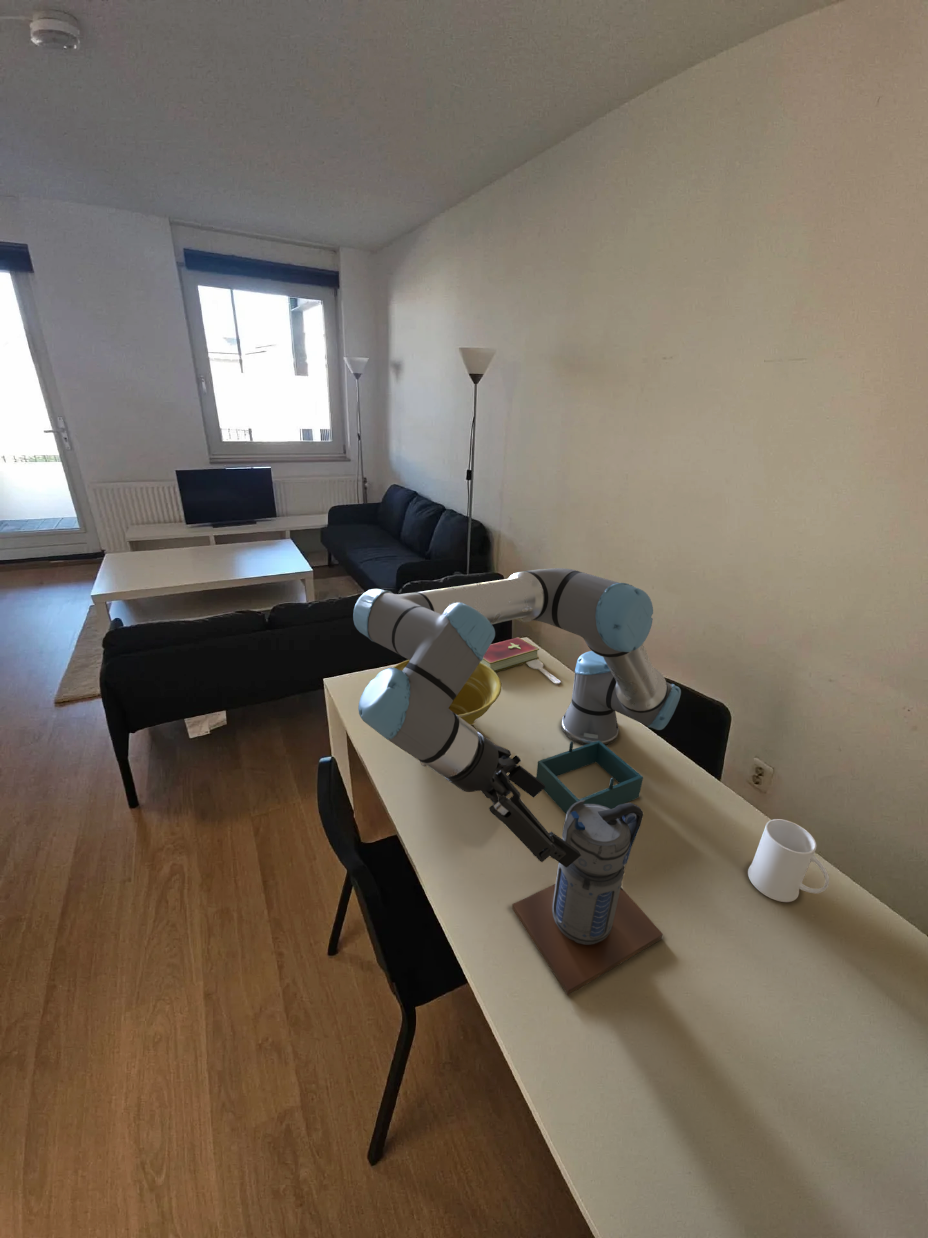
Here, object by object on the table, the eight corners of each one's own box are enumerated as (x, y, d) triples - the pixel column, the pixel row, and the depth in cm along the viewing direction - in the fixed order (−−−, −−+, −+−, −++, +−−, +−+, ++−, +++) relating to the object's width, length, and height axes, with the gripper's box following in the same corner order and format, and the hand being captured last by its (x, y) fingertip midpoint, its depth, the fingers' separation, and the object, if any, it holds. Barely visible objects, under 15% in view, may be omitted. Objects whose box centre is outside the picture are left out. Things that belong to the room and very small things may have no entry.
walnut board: (598, 867, 99) (599, 862, 98) (662, 939, 86) (663, 934, 85) (511, 908, 90) (512, 904, 90) (567, 995, 77) (568, 990, 77)
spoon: (551, 685, 161) (551, 684, 161) (522, 660, 176) (522, 659, 175) (565, 682, 163) (565, 680, 163) (535, 658, 178) (535, 656, 178)
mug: (826, 904, 93) (848, 856, 88) (800, 925, 89) (821, 877, 84) (764, 857, 102) (780, 811, 97) (738, 874, 98) (754, 828, 93)
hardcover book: (469, 659, 175) (469, 648, 174) (517, 646, 186) (517, 636, 185) (489, 673, 166) (490, 662, 165) (538, 658, 177) (539, 648, 175)
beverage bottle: (635, 936, 85) (663, 824, 75) (564, 958, 81) (583, 842, 71) (603, 885, 94) (624, 778, 84) (538, 902, 90) (552, 793, 80)
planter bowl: (458, 779, 120) (459, 732, 115) (357, 733, 136) (354, 690, 130) (518, 715, 145) (521, 674, 140) (427, 682, 161) (427, 644, 155)
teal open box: (596, 759, 128) (600, 730, 125) (639, 797, 116) (645, 767, 113) (535, 781, 120) (538, 751, 117) (575, 824, 108) (579, 792, 105)
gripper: (426, 718, 79) (511, 782, 88) (459, 845, 57) (569, 913, 66) (460, 686, 78) (543, 754, 87) (507, 803, 56) (612, 877, 65)
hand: (554, 822), depth 76 cm, fingers open, 13 cm apart
